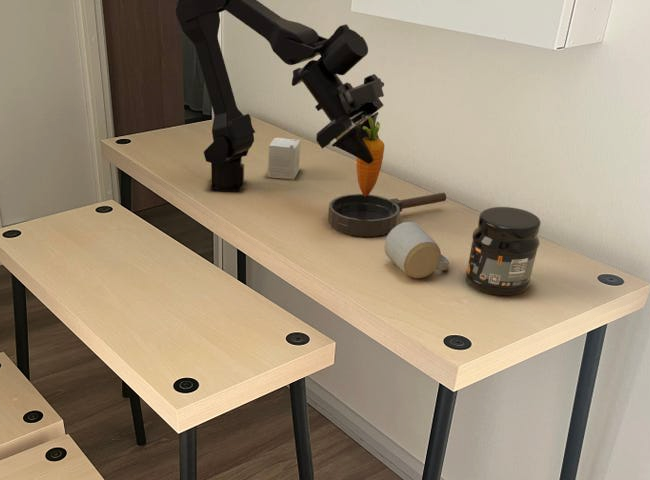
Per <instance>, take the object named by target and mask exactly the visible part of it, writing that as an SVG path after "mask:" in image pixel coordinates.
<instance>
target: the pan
mask: <svg viewBox="0 0 650 480" xmlns="http://www.w3.org/2000/svg"><path fill="white" fill-rule="evenodd" d="M327 213H328V214H327V223H328V224H329V225H330V227H331V228H333V229H334V230H336V231H337V232H340V233H342V234H345V235H349V236H353V237H363V238H368V237H369V238H371V237H372V238H373V237H380V236H384V235H388V234H389V233H390V231H391V230H392V229H393V228H394V227H396V226H397V225H399V222H400V221H399V220H400V214H401V212H400V208H399V206H398V205H397V204H396V203H394V202H392V201H391V200H390V198H387V197H383V196H380V195H374V194H369V195H368V196H366V197H364V195H363V194H362V193H353V194H352V193H351V194H344V195H341V196H338V197H335V198H333V199H332V200H331V201H330V202H329V203H328V212H327Z"/></svg>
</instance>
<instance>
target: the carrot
mask: <svg viewBox="0 0 650 480" xmlns="http://www.w3.org/2000/svg"><path fill="white" fill-rule="evenodd" d="M368 121H369V125H370V129H368V128H367V127H365V126H364V127H363V130H365V131H366V132H367V133H368V135H369V137H365V138H363V141H364V143H365V144H366V146H367V148H368V150H369V152H370V153H371V155H372V157H373V160H374V161H373V162H371V163H370V164H368V163H366V162H365V161H363V160H361V159H359V158H357V157H356V165H355V166H356V176H357V178H356V179H357V183H358V187H359V189H360V192H361V194H363V195H364V197H366V196H368V195H371V192H372V190H373V189H374V188H375V185H376V184H377V181H378V178H379V176H380V172H381V169H382V165H383V159H384V152H385V142H383V141H382V139H380V137H379V138H376V136H377V134H378V135H379V132H380V131H379V130H380V128H381V123H380V122H379V121H376V123H375V126H376V127H374V123H373V119H372V118H371V117H369V118H368Z"/></svg>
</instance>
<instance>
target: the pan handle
mask: <svg viewBox="0 0 650 480" xmlns="http://www.w3.org/2000/svg"><path fill="white" fill-rule="evenodd" d="M389 200H391V201H392V202H394V203H396V204H397V205H398V206H399V208H400V213H402V212H403V210H405V209H410V208H416V207H421V206H426V205H432V204H437V203H443V202H446V201H447V194H446V193H445V192H439V193H432V194H427V195H421V196H416V197H410V198H405V199H398V198H395V197H394V198H389Z"/></svg>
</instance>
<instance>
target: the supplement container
mask: <svg viewBox="0 0 650 480" xmlns="http://www.w3.org/2000/svg"><path fill="white" fill-rule="evenodd" d="M477 222H478V223H477V227H476V228H475V229H474V231H473V232H472V242H471V247H470V253H469V257H468V263H467V268H466V272H465V278H466V280H467V282H468V283H469V284H470V285H471V286H472V287H473V288H475V289H477V290H478V291H480V292H483V293H486V294H489V295H495V296H514V295H518V294H520V293H522V292H524V291H526V290H527V288H529V286H530V284H531V280H532V279H531V278H532V274H533V269H534V264H535V261H536V256H537V252H538V248H539V247H540V243H541V241H540V237H539V236H538V235H539V232H540V228H541V224H542V223H541V219H540V218H539V217H538V216H537V214H534V213H532V212H530V211H528V210H525V209H521V208H516V207H510V206H496V207H489V208H487V209H484V210H483V211H481V212H480V213H479V217H478V221H477Z"/></svg>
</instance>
